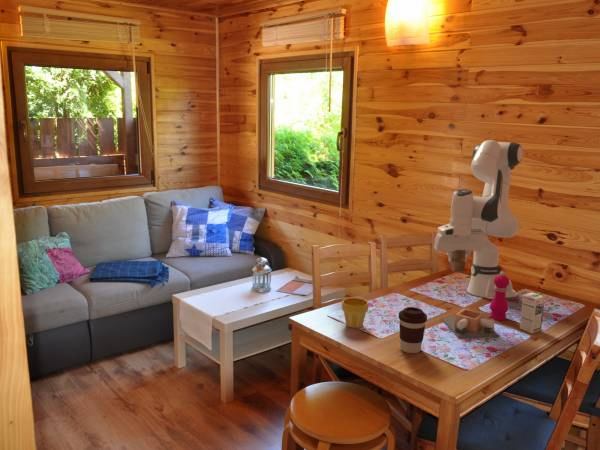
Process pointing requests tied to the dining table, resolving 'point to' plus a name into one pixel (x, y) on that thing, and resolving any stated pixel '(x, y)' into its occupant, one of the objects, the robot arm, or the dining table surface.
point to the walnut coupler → (458, 260)
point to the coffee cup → (412, 329)
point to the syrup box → (532, 312)
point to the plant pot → (354, 311)
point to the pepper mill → (499, 298)
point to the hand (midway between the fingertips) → (457, 261)
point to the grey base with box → (470, 325)
